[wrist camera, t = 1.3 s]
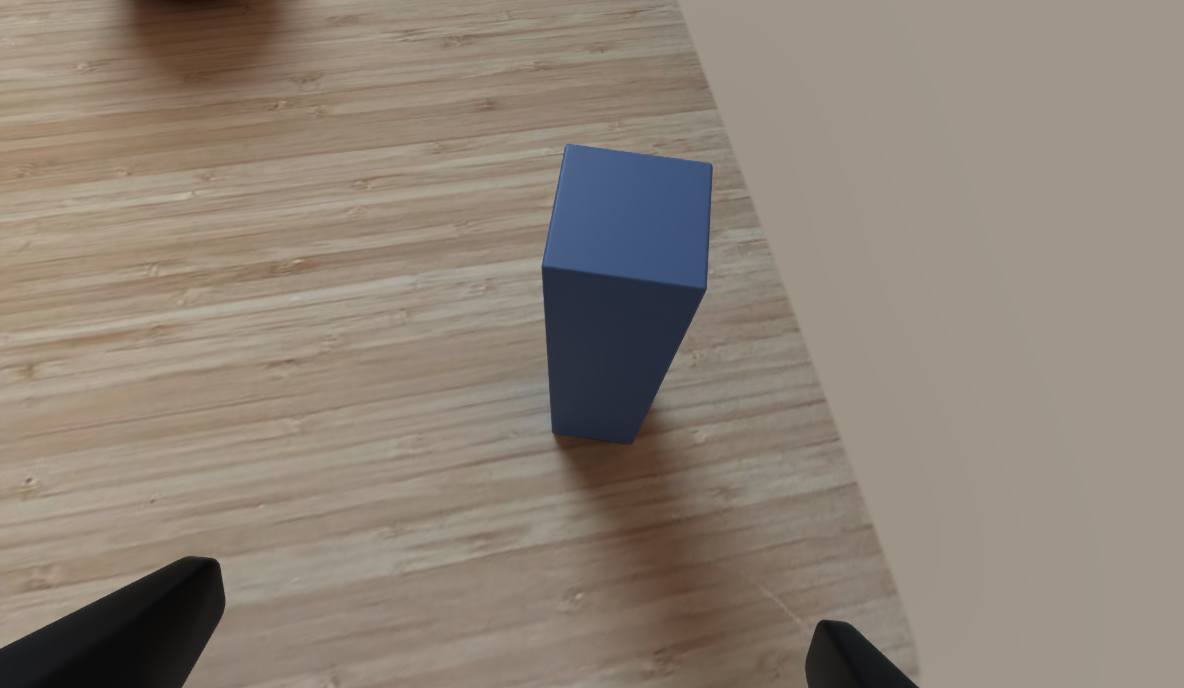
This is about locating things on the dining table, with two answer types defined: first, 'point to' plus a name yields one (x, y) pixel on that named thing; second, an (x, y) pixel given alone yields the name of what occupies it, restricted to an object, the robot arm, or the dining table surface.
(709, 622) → the dining table surface
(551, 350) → the peg
